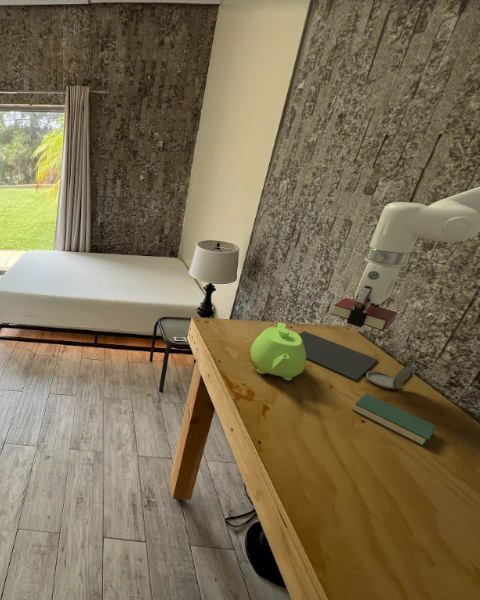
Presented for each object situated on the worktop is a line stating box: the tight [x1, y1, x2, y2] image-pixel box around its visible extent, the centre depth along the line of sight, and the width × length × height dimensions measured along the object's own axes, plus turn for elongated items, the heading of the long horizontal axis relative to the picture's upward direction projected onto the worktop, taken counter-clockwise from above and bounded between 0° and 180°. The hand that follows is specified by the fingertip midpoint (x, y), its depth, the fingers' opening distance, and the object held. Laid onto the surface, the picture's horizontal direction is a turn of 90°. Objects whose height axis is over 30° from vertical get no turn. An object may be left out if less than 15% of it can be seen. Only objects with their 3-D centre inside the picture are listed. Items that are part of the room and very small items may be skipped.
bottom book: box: [352, 393, 438, 448], centre depth 72 cm, size 12×6×2 cm, turn 33°
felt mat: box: [298, 330, 379, 382], centre depth 97 cm, size 20×16×1 cm
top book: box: [330, 297, 398, 332], centre depth 83 cm, size 11×7×3 cm
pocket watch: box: [365, 358, 418, 390], centre depth 82 cm, size 8×8×10 cm
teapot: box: [249, 321, 307, 381], centre depth 88 cm, size 20×13×13 cm
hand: (360, 319), depth 83 cm, fingers closed on top book, 7 cm apart
